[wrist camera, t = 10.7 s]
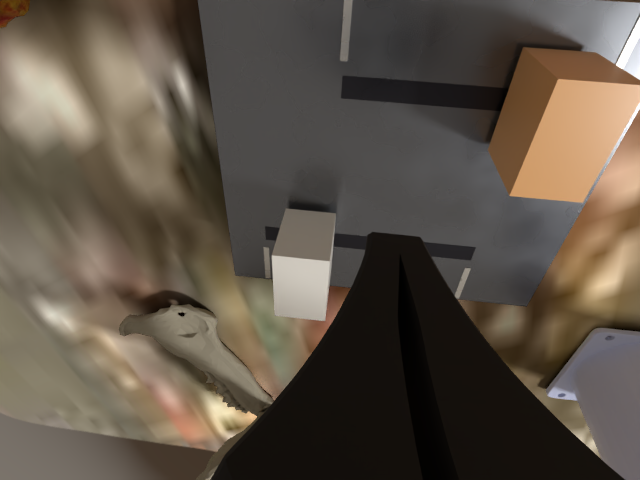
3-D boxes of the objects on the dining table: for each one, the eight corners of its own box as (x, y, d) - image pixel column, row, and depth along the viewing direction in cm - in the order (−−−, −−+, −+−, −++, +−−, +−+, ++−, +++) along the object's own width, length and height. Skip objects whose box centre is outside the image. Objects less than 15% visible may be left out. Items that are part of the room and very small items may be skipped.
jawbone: (229, 350, 40) (105, 317, 28) (293, 323, 39) (192, 276, 26) (252, 509, 33) (101, 561, 21) (331, 485, 32) (220, 525, 19)
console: (671, -2, 14) (698, 6, 13) (519, 287, 24) (526, 307, 23) (208, -31, 15) (194, -26, 14) (241, 258, 25) (234, 275, 24)
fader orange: (596, 52, 14) (649, 85, 11) (548, 155, 16) (582, 202, 14) (523, 46, 14) (558, 78, 11) (487, 150, 17) (509, 196, 14)
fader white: (336, 213, 19) (329, 261, 17) (331, 271, 22) (325, 321, 19) (285, 208, 20) (271, 255, 17) (286, 266, 22) (274, 315, 19)
